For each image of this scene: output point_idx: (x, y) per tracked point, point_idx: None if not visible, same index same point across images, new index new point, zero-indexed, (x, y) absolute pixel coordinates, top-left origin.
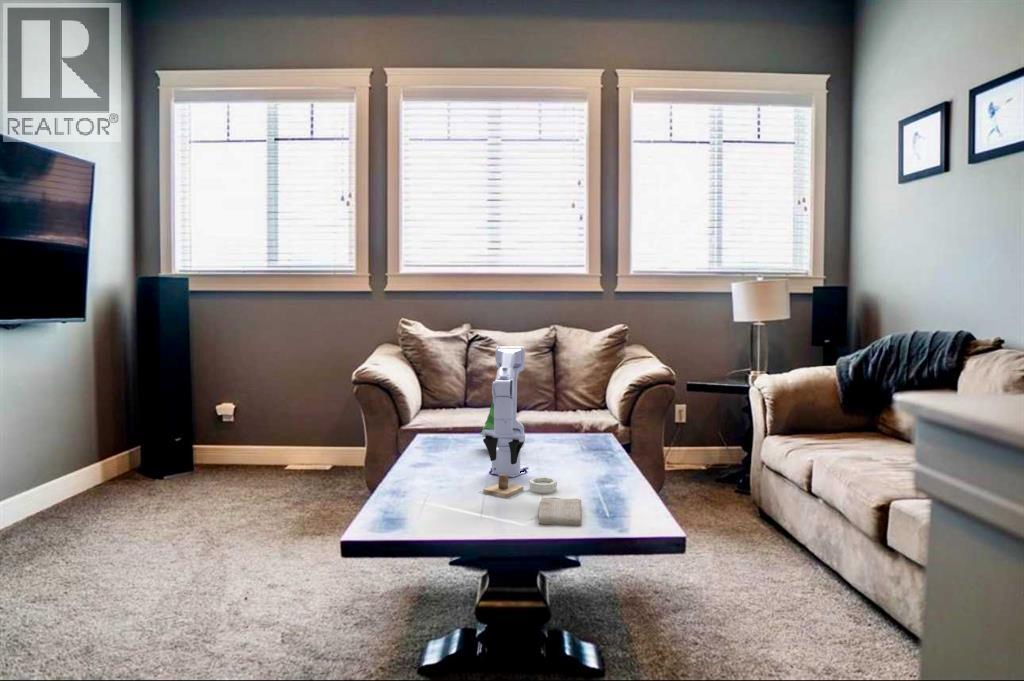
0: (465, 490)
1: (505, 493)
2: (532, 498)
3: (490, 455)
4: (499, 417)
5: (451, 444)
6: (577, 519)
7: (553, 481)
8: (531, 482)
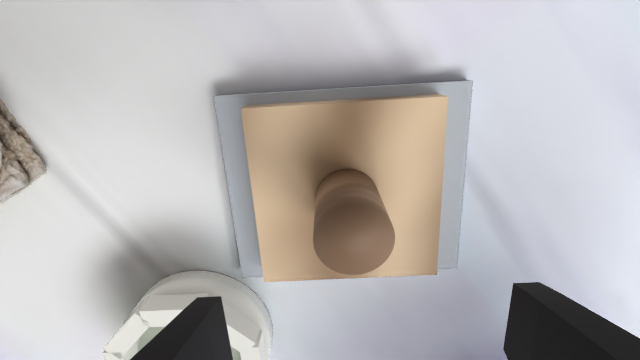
0: (587, 99)
1: (256, 107)
2: (160, 207)
3: (589, 324)
4: None
5: None
6: None
7: None
8: None
